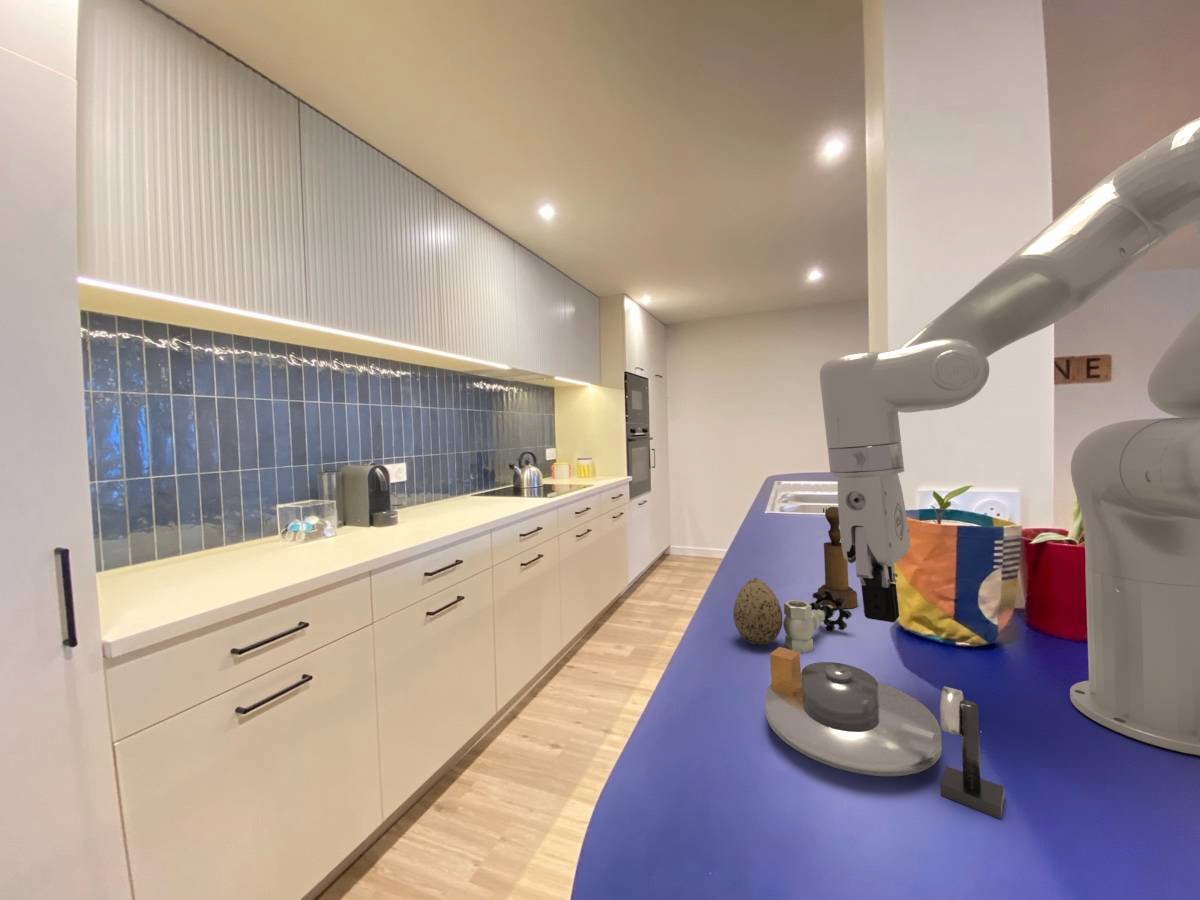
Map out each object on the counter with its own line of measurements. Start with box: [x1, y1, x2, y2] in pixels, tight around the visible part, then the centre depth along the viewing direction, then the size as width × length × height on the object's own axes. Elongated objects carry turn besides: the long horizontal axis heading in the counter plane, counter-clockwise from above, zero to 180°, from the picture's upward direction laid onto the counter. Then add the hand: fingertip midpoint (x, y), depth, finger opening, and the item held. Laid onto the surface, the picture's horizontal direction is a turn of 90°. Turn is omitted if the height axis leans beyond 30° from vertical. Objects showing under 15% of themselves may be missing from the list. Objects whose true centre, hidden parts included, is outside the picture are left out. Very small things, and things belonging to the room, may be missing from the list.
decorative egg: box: [732, 577, 783, 646], centre depth 73 cm, size 7×7×10 cm
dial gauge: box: [939, 686, 1005, 820], centre depth 40 cm, size 4×4×9 cm
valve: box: [782, 589, 853, 654], centre depth 73 cm, size 7×7×12 cm
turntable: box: [764, 646, 942, 777], centre depth 49 cm, size 16×16×6 cm
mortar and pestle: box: [817, 506, 858, 609], centre depth 88 cm, size 7×6×18 cm
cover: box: [801, 661, 879, 732], centre depth 49 cm, size 7×7×4 cm
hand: (882, 617), depth 55 cm, fingers closed
